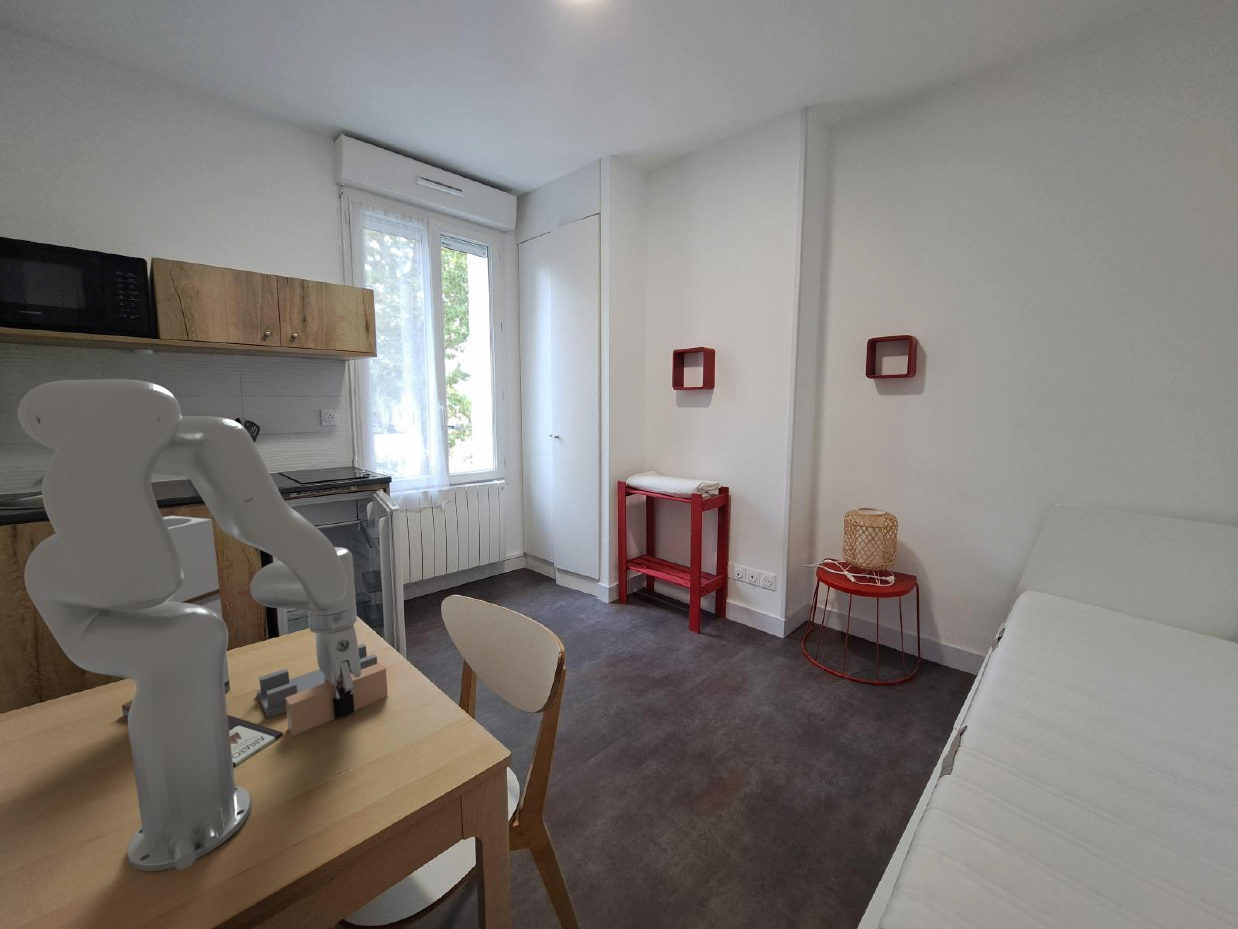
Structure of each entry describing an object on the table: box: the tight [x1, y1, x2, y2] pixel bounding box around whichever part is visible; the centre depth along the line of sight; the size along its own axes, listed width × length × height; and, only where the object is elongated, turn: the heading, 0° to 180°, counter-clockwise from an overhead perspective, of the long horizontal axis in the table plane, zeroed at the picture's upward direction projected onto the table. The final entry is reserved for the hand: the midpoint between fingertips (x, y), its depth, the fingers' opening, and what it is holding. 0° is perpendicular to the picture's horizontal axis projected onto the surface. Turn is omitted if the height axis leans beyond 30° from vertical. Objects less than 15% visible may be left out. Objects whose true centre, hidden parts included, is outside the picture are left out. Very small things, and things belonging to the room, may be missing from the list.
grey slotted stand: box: [256, 643, 378, 719], centre depth 100 cm, size 10×20×4 cm, turn 135°
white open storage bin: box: [121, 515, 231, 717], centre depth 92 cm, size 11×11×35 cm
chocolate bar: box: [227, 714, 284, 768], centre depth 84 cm, size 9×1×18 cm
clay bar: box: [285, 662, 389, 737], centre depth 92 cm, size 3×16×6 cm, turn 136°
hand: (340, 708), depth 92 cm, fingers open, 4 cm apart
